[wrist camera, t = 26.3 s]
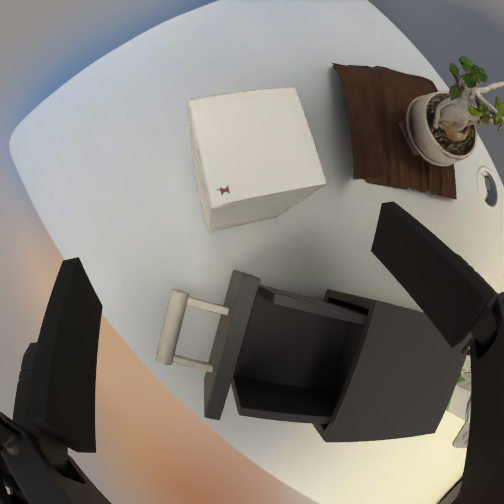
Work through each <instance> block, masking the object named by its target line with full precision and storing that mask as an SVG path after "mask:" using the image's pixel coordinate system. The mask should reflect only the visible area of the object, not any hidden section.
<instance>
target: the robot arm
mask: <svg viewBox="0 0 504 504" xmlns="http://www.w3.org/2000/svg"><path fill="white" fill-rule="evenodd" d="M371 252H372V253H373V254H374V255H375V256H376V257H377V258H378V259H379V260H380V261H381V262H382V264H383V265H384V266H385V267H386V268H387V269H388V270H389V271H390V273H391V274H392V275H393V276H394V277H395V278H396V279H397V281H398V282H399V283H400V284H401V285H402V286H403V287H404V289H405V290H406V291H407V292H408V293H409V295H410V296H411V297H412V298H413V299H414V301H415V302H416V303H417V304H418V305H419V307H420V308H421V309H422V310H423V312H424V313H425V314H426V315H427V317H428V318H429V319H430V320H431V322H432V323H433V324H434V325H435V327H436V328H437V329H438V331H439V332H440V333H441V334H442V336H443V337H444V338H445V340H446V341H447V342H448V344H449V345H450V346H451V348H453V347H455V346H456V345H458V344H459V343H461V342H462V341H463V340H464V339H465V337H466V336H467V335H468V333H469V332H471V334H472V336H471V338H470V339H469V340H468V342H467V343H466V344H465V346H464V347H463V349H462V351H461V354H464V352H465V351H466V350H467V349H468V347H470V349H469V350H468V351H467V353H466V355H470V358H471V411H470V426H469V437H468V446H467V453H466V460H465V466H464V472H463V477H462V482H461V487H460V491H459V494H458V496H457V497H456V498H455V499H454V500H453V502H452V503H451V504H504V292H502V293H500V294H498V293H497V292H496V291H495V290H494V289H493V288H492V287H491V286H490V285H489V284H488V283H487V282H486V281H485V280H484V279H483V278H482V277H481V276H480V275H479V274H478V273H477V272H475V271H474V269H473V268H472V267H471V266H470V265H468V263H467V262H466V261H465V260H464V259H463V258H462V257H461V256H459V255H458V254H456V253H454V252H453V251H452V250H451V249H450V248H449V247H448V246H446V245H445V244H444V243H443V242H442V241H441V240H440V239H439V238H438V237H436V236H435V235H434V234H433V233H432V232H431V231H429V230H428V229H427V228H426V227H425V226H424V225H422V224H421V223H420V222H419V221H418V220H416V219H415V218H414V217H413V216H411V215H410V214H409V213H408V212H406V211H405V210H404V209H403V208H401V207H400V206H399V205H398V204H396V203H395V202H387V203H382V205H381V210H380V215H379V219H378V224H377V228H376V233H375V237H374V241H373V245H372V249H371ZM102 307H103V306H102V304H101V302H100V300H99V299H98V297H97V295H96V293H95V291H94V289H93V287H92V285H91V283H90V280H89V278H88V276H87V274H86V272H85V270H84V268H83V265H82V263H81V261H80V259H79V257H77V258H73V259H68V260H64V261H63V262H62V265H61V268H60V270H59V273H58V276H57V278H56V281H55V284H54V287H53V290H52V293H51V296H50V299H49V303H48V305H47V309H46V312H45V316H44V319H43V323H42V327H41V330H40V334H39V338H38V342H36V343H30V345H29V347H28V349H27V350H26V352H25V354H24V356H23V361H22V365H21V371H20V375H19V382H18V385H17V392H16V398H15V404H14V412H13V420H11V419H10V418H8V417H7V416H6V415H4V414H3V413H1V412H0V504H111V503H110V502H109V501H108V500H107V499H106V498H105V497H104V495H103V494H102V493H101V492H100V491H99V490H98V489H97V488H96V487H95V486H94V484H93V483H92V482H91V481H90V480H89V479H88V477H87V476H86V475H85V474H84V473H83V471H82V470H81V469H80V468H79V466H78V465H77V464H76V463H75V461H74V460H73V459H72V458H71V457H70V456H69V455H68V453H67V452H68V450H67V448H68V447H69V448H71V449H72V450H74V451H76V452H86V453H96V440H95V383H96V365H97V351H98V340H99V330H100V322H101V314H102ZM5 486H6V487H8V488H9V489H10V493H11V494H10V495H9V494H8V493H7V490H6V488H5Z"/></svg>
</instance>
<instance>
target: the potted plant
mask: <svg viewBox="0 0 504 504" xmlns="http://www.w3.org/2000/svg"><path fill="white" fill-rule="evenodd" d="M459 61H460V63H461V64H462V67H463V69H464V70H465V71H466V72H465V74H463V75H462V76H460V75H459V69H458V68H457V67H456V66H455V65H454V64H452V63H450V64H449V69H450V71H451V72H452V74H453V75H454V77H455V79H456V82H457V83H455V85H453V86H451V87H450V90H449V93H448V92H444V91H438V90H437V88H436V86H435V85H434V83H433V82H432V81H431V80H429V79H426V78H424V77H420V76H415V75H409V74H404V73H401V72H398V71H394V70H391V69H388V68H386V67H380V66H375V67H373V68H372V67H368V66H354V65H348V66H345V65H340V64H335V63H332V64H333V65H334V66H333V67H334V68H335V69H336V71H337V73H338V75H339V77H340V80H341V83H342V86H343V91H344V95H345V99H346V103H347V109H348V114H349V122H350V128H351V138H352V148H353V160H354V162H353V163H354V180H355V178H356V179H365V180H366V181H367V183H372V184H378V185H384V186H390V187H396V188H402V189H408V188H412V190H413V189H416V190H420V191H421V192H424V193H425V191H427V192H429V191H430V192H431V194H437V195H439V196H443V197H448V198H451V199H455V200H456V199H457V198H456V184H455V170H454V163H456V162H458V161H460V160H463V159H464V158H466V157H468V156H469V155H470V154H471V153H472V151H473V150H474V148H475V145H476V141H477V132H476V127H475V125H481V124H487V125H488V124H489V123H494V124H495V125H497V124H499V123H500V126H499V128H498V132H499V134H501V133H500V129H501V128H502V126H504V116H503V115H504V103H501V102H500V100H499V98H498V97H497V96H496V104H495V108H494V107H493V106H492V105H491V104H490V103H488V102H487V101H486V100H485V99H484V98H483V97H482V96H481V93H483V94H485V93H489V91H490V90H495V88H498V87H503V86H504V82H496V83H493V84H491V85H489V86H487V87H482V88H480V87H479V88H476V87H477V86H479V85H480V84H481V83H484V82H486V81H487V79H488V76H487V75H486V73H484V69H483V68H479V67H478V66H477V65H473V63H472V61H471V60H469V59H468V58H466V57H460V58H459ZM475 67H476V69H475ZM462 77H463V80H464V81H465V83H464V84H463V83H462V84H461V85H459V78H462ZM474 96H475V97H477V98H476V103H477V106H475V105H473V103H472V99H473V98H474ZM497 108H498V111H497V110H496V109H497ZM490 114H493V115H492V116H491V115H490Z"/></svg>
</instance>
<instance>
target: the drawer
mask: <svg viewBox="0 0 504 504" xmlns="http://www.w3.org/2000/svg"><path fill="white" fill-rule="evenodd" d="M259 283H260V278H258V277H255V276H252V275H249V274H247V273H243V272H240V271H236V270H234V271H233V274H232V278H231V281H230V285H229V289H228V292H227V296H226V300H225V303H224V306H223V305H219V304H215V303H211V302H208V301H204V300H200V299H197V298H193V297H190V296H189V294H188V293H186V292H184V291H180V290H176V289H172V291H171V295H170V299H169V303H168V307H167V311H166V315H165V319H164V323H163V328H162V332H161V337H160V341H159V346H158V350H157V355H156V361H157V362H159V363H161V364H165V365H171V364H172V362H173V363H176V364H180V365H184V366H187V367H191V368H195V369H199V370H203V371H206V374H205V378H204V415H205V418H210V419H215V420H220V418H221V414H222V411H223V408H224V404H225V401H226V398H227V394H228V391H229V388H230V384H232V388H233V393H234V397H235V401H236V406H237V410H238V414H239V415H242V416H248V417H255V418H262V419H270V420H279V421H289V422H300V423H315V424H329V421H330V419H331V417H332V414H333V412H334V410H335V407H336V405H337V402H338V400H339V397H340V395H341V392H342V390H343V387H344V384H345V382H346V379H347V376H348V374H349V371H350V368H351V365H352V362H353V359H354V357H355V354H356V351H357V348H358V344H359V341H360V338H361V335H362V332H363V328H364V325H365V322H366V318H367V315H368V313H367V312H364V311H360V310H357V309H354V308H350V307H345V306H341V305H337V304H333V303H329V302H325V301H321V300H317V299H313V298H309V297H305V296H301V295H297V294H293V293H289V292H286V291H282V290H278V289H274V288H270V287H267V286H263V285H259ZM186 304H187V305H190V306H194V307H198V308H201V309H205V310H209V311H212V312H216V313H220V314H221V318H220V322H219V325H218V329H217V333H216V336H215V340H214V344H213V348H212V351H211V355H210V359H209V363H206V362H202V361H198V360H194V359H191V358H187V357H183V356H179V355H176V354H175V355H174V353H175V349H176V345H177V341H178V337H179V332H180V328H181V324H182V320H183V316H184V312H185V308H186Z"/></svg>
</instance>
